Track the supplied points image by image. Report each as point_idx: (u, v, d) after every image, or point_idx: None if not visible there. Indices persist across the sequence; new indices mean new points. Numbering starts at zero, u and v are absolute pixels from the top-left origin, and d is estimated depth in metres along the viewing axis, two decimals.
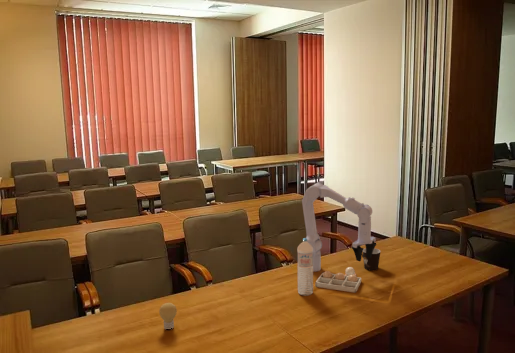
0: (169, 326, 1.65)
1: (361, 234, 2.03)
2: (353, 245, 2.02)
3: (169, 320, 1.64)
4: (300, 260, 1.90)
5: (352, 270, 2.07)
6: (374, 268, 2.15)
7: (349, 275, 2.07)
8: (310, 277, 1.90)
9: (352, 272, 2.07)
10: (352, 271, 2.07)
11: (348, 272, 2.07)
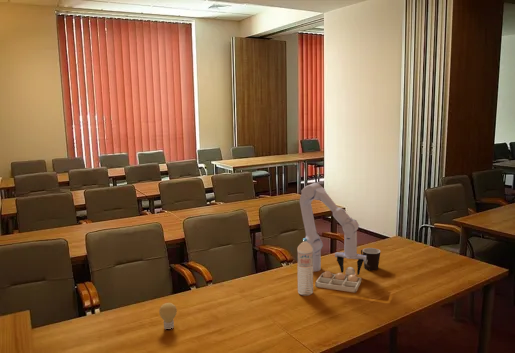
0: (169, 326, 1.65)
1: (344, 247, 2.07)
2: None
3: (169, 320, 1.64)
4: (300, 260, 1.90)
5: (352, 270, 2.07)
6: (374, 268, 2.15)
7: (349, 275, 2.07)
8: (310, 277, 1.90)
9: (352, 272, 2.07)
10: (352, 271, 2.07)
11: (348, 272, 2.07)
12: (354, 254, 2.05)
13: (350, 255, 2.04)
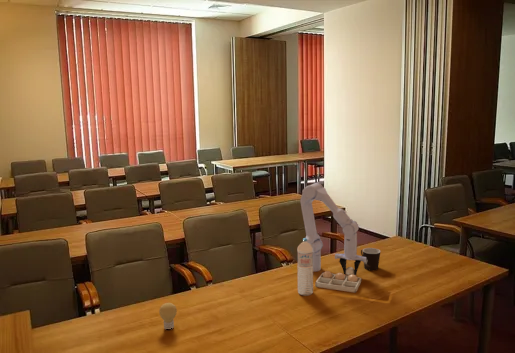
0: (169, 326, 1.65)
1: (344, 248, 2.07)
2: None
3: (169, 320, 1.64)
4: (300, 260, 1.90)
5: (352, 270, 2.07)
6: (374, 268, 2.15)
7: (349, 275, 2.07)
8: (310, 277, 1.90)
9: (352, 272, 2.07)
10: (352, 271, 2.07)
11: (348, 272, 2.07)
12: (354, 255, 2.05)
13: (350, 256, 2.05)
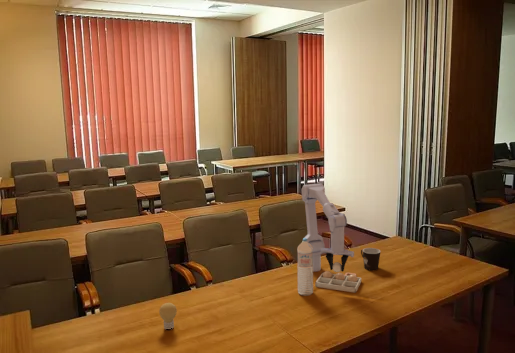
0: (169, 326, 1.65)
1: None
2: None
3: (169, 320, 1.64)
4: (300, 260, 1.90)
5: (339, 265, 1.94)
6: (374, 268, 2.15)
7: (336, 271, 1.95)
8: (310, 277, 1.90)
9: (339, 268, 1.94)
10: (339, 266, 1.94)
11: (335, 268, 1.94)
12: (341, 250, 1.92)
13: (337, 251, 1.92)
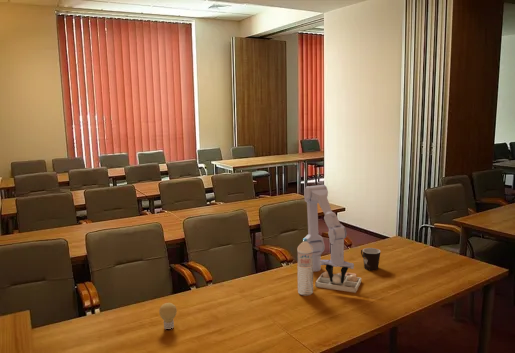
0: (169, 326, 1.65)
1: None
2: None
3: (169, 320, 1.64)
4: (300, 260, 1.90)
5: (339, 277, 1.95)
6: (374, 268, 2.15)
7: (336, 282, 1.96)
8: (310, 277, 1.90)
9: (339, 279, 1.95)
10: (339, 278, 1.95)
11: (335, 279, 1.95)
12: (341, 262, 1.93)
13: (336, 263, 1.93)
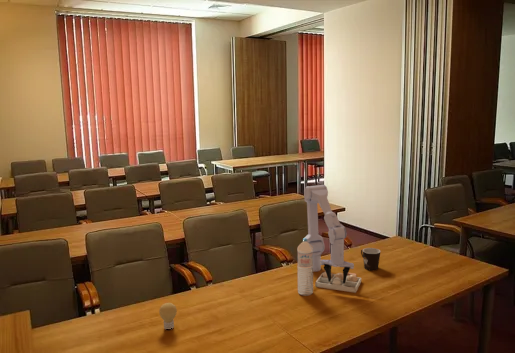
0: (169, 326, 1.65)
1: None
2: None
3: (169, 320, 1.64)
4: (300, 260, 1.90)
5: (339, 281, 1.96)
6: (374, 268, 2.15)
7: None
8: (310, 277, 1.90)
9: (339, 283, 1.95)
10: (339, 282, 1.95)
11: (335, 283, 1.96)
12: (341, 262, 1.93)
13: (336, 263, 1.93)
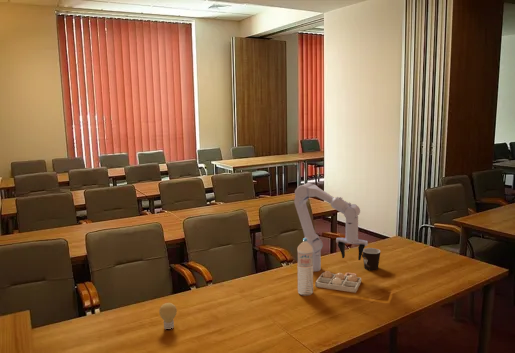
0: (169, 326, 1.65)
1: None
2: None
3: (169, 320, 1.64)
4: (300, 260, 1.90)
5: (339, 281, 1.96)
6: (374, 268, 2.15)
7: None
8: (310, 277, 1.90)
9: (339, 283, 1.95)
10: (339, 282, 1.95)
11: (334, 283, 1.96)
12: (355, 239, 2.03)
13: (351, 240, 2.03)
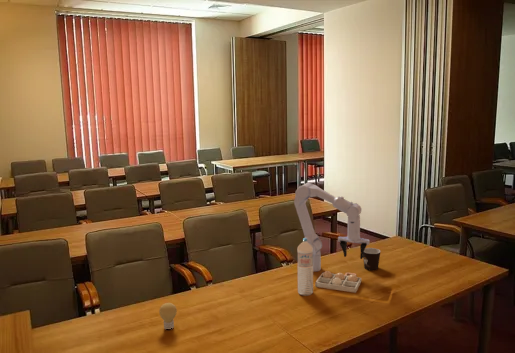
0: (169, 326, 1.65)
1: None
2: None
3: (169, 320, 1.64)
4: (300, 260, 1.90)
5: (338, 281, 1.96)
6: (374, 268, 2.15)
7: None
8: (310, 277, 1.90)
9: (338, 283, 1.95)
10: (338, 282, 1.95)
11: (334, 283, 1.96)
12: (357, 238, 2.05)
13: (353, 239, 2.05)
